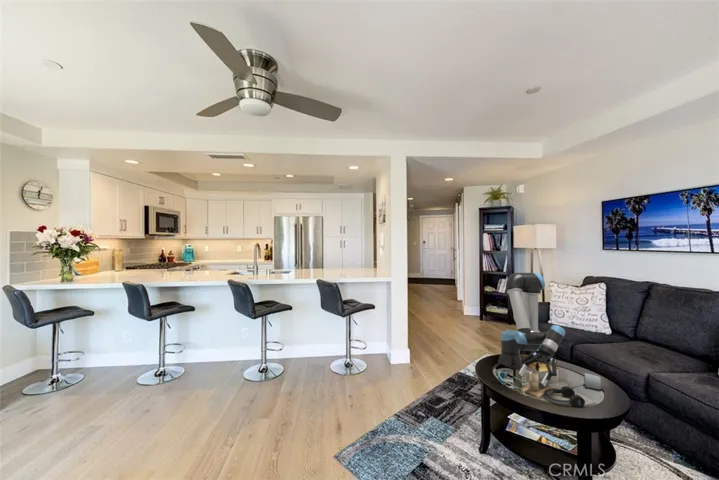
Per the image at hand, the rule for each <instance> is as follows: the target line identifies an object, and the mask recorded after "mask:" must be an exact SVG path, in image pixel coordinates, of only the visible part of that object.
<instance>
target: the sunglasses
mask: <svg viewBox="0 0 719 480" xmlns="http://www.w3.org/2000/svg"><path fill="white" fill-rule="evenodd" d="M497 374H498V375H497V377H496V378H497V379H498V381H499V382H500V383H501V384H503V385H505V386H507V387H513V388H515V389H517V390H520V389H521V388H522V387H521V388H520V387H518V386H515V385H513V384H511V383H509V382H506V381H504V379H506V378H507V377H508V378H511V379H515V380H518V381H520V383H524V384H526V383H525V381H523V380H521V379H520V378H518V377H516V376H513V375H511V374H508V373H507V372H505V371H499V372H498V373H497ZM498 381H497V382H498Z"/></svg>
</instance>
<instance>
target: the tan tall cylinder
mask: <svg viewBox="0 0 719 480" xmlns="http://www.w3.org/2000/svg"><path fill="white" fill-rule="evenodd" d="M539 379H540V378H539V372H537V371H536V367H535V366H532V370H531V371H529V384H530V390H531V391H534V392H538V391H539Z"/></svg>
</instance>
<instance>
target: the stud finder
mask: <svg viewBox="0 0 719 480" xmlns="http://www.w3.org/2000/svg"><path fill="white" fill-rule="evenodd" d="M542 381H543V379H541V378H539V387H540V388H543V389H545V388H546V387H548V386H550V381H548V382H547V384H546V385H545V386H544V385H543V384H542Z"/></svg>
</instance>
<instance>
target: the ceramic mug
mask: <svg viewBox="0 0 719 480" xmlns="http://www.w3.org/2000/svg"><path fill="white" fill-rule="evenodd" d="M583 384H586V386H583V387H584V388H585V387H586V388H589V389H594V390H600V391H601V390H602V388H603V379H602V377H601V376H599V375H594V374H591V373H588V372H587V373H586V372H584V375H583Z"/></svg>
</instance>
